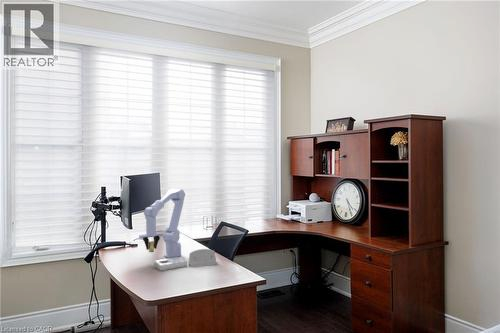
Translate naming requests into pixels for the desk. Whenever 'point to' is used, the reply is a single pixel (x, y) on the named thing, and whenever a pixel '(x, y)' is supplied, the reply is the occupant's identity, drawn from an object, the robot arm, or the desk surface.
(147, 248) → the robot arm
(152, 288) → the desk surface
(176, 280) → the desk surface
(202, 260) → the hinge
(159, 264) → the jig
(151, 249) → the bushing
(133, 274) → the desk surface
